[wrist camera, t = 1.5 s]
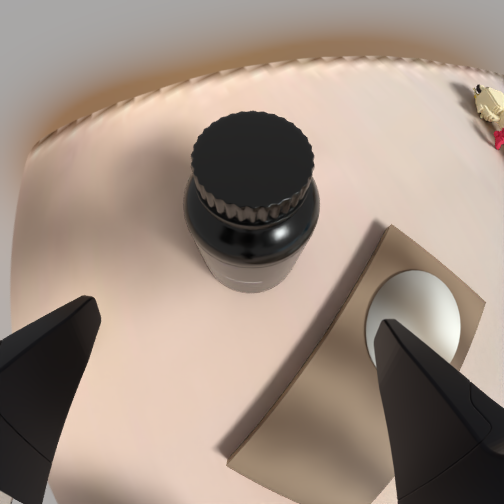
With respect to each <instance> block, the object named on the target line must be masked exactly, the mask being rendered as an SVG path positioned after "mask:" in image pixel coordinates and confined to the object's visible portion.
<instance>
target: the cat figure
mask: <svg viewBox="0 0 504 504" xmlns="http://www.w3.org/2000/svg"><path fill="white" fill-rule="evenodd" d="M473 90H474V91H475V92H474V94H475V95H474V98H475V99H476V102H475V103H476V106H477V109H478V110H477V112H478V113H481V115H480V117H481V118H483V117H484V119H486V121H489V122H495V123H498V124H499V126H500V127H501V129H502V131H500V132H499V131H495V132H494V134H493V135H494V136H495V138H496V139H495V140H496V141H495V142H496V143H495V147H496V149H497V150H500V149H499V148H500V147H501V144H504V94H503V93H502V92H500V91H497V90H494V89H492V88H489V87H486V88H485V87H484V86H482V85H477V89H475V88H473ZM476 90H477V91H478V93H479V94H477V93H476Z"/></svg>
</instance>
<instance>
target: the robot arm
mask: <svg viewBox="0 0 504 504" xmlns="http://www.w3.org/2000/svg"><path fill="white" fill-rule="evenodd" d="M100 324H101V315H100V312H99V309H98V306H97V302H96V300H95V298H94V297H92V296H86V295H83V296H81V297H79V298H77V299H75V300H73V301H71V302H69V303H67V304H65V305H64V306H62V307H60V308H58V309H56V310H54V311H52V312H51V313H49V314H47V315H45V316H43V317H41V318H40V319H38V320H36V321H34V322H32V323H31V324H29V325H27V326H25V327H23V328H22V329H20V330H18V331H16V332H15V333H13V334H11V335H9V336H8V337H6V338H4V339H3V340H0V504H12V501H13V498H14V499H15V500H17V501H19V502H21V503H23V504H42V502H43V498H44V493H45V489H46V485H47V481H48V477H49V473H50V469H51V466H52V462H53V458H54V455H55V451H56V448H57V445H58V442H59V438H60V435H61V432H62V429H63V426H64V423H65V420H66V418H67V415H68V412H69V409H70V406H71V404H72V401H73V398H74V396H75V393H76V390H77V388H78V385H79V383H80V380H81V378H82V375H83V373H84V371H85V368H86V366H87V363H88V360H89V358H90V355H91V351H92V348H93V345H94V342H95V339H96V336H97V333H98V330H99V327H100ZM374 352H375V360H376V368H377V377H378V385H379V390H380V395H381V400H382V405H383V410H384V414H385V420H386V425H387V430H388V436H389V442H390V448H391V454H392V460H393V467H394V474H395V482H396V490H397V499H398V504H504V408H503V407H501V406H500V405H499V404H497V403H496V402H495V401H493V400H492V399H491V398H490V397H488V396H487V395H486V394H485V393H484V392H482V391H481V390H480V389H479V388H478V387H477V386H475V385H474V384H473V383H472V382H470V381H469V380H468V379H467V378H466V377H465V376H464V375H463V374H461V373H460V372H459V371H458V370H457V369H456V368H454V367H453V366H452V365H451V364H450V363H448V362H447V361H446V360H445V359H444V358H442V357H441V356H440V355H439V354H438V353H436V352H435V351H434V350H433V349H432V348H430V347H429V346H428V345H427V344H426V343H424V342H423V341H422V340H421V339H419V338H418V337H417V336H416V335H415V334H413V333H412V332H411V331H410V330H408V329H407V328H406V327H405V326H403V325H402V324H401V323H400V322H398V321H397V320H396V319H383V320H382V321H381V323H380V325H379V328H378V330H377V333H376V335H375V338H374Z"/></svg>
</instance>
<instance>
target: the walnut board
mask: <svg viewBox="0 0 504 504" xmlns="http://www.w3.org/2000/svg"><path fill="white" fill-rule="evenodd" d="M485 304H486V302H485V301H484V300H483V299H482V298H481V297H480V296H479V295H478V294H476V293H475V292H474V291H473V290H472V289H471V288H470V287H469V286H468V285H467V284H465V283H464V282H463V281H462V280H461V279H460V278H459V277H457V276H456V275H455V274H454V273H453V272H452V271H450V270H449V269H448V268H447V267H446V266H445V265H443V264H442V263H441V262H440V261H438V260H437V259H436V258H435V257H434V256H432V255H431V254H430V253H429V252H427V251H426V250H425V249H424V248H422V247H421V246H420V245H419V244H417V243H416V242H415V241H413V240H412V239H411V238H409V237H408V236H407V235H405V234H404V233H403V232H401V231H400V230H399V229H397V228H396V227H395V226H393V225H392V224H391V225H390V226H389V227H388V228H387V229H386V230H385V232H384V234H383V236H382V238H381V240H380V242H379V244H378V245H377V247H376V249H375V251H374V253H373V255H372V257H371V258H370V260H369V262H368V264H367V266H366V267H365V269H364V271H363V273H362V274H361V276H360V278H359V280H358V281H357V283H356V285H355V287H354V288H353V290H352V292H351V293H350V295H349V297H348V298H347V300H346V302H345V303H344V305H343V306H342V308H341V310H340V311H339V313H338V314H337V316H336V318H335V319H334V321H333V322H332V324H331V325H330V327H329V328H328V330H327V332H326V333H325V335H324V336H323V338H322V339H321V341H320V342H319V344H318V345H317V347H316V348H315V349H314V351H313V352H312V354H311V355H310V357H309V358H308V360H307V361H306V362H305V364H304V365H303V367H302V368H301V369H300V371H299V372H298V374H297V375H296V376H295V378H294V379H293V380H292V382H291V383H290V384H289V386H288V387H287V388H286V390H285V391H284V392H283V394H282V395H281V396H280V398H279V399H278V400H277V402H276V403H275V404H274V405H273V407H272V408H271V409H270V410H269V412H268V413H267V414H266V415H265V417H264V418H263V419H262V420H261V422H260V423H259V424H258V425H257V426H256V428H255V429H254V430H253V431H252V432H251V434H250V435H249V436H248V437H247V438H246V439H245V441H244V442H243V443H242V444H241V445H240V446H239V448H238V449H237V450H236V451H235V452H234V453H233V454H232V455H231V456H230V458H229V459H228V460H227V464H226V466H227V467H229V468H231V469H232V470H234V471H236V472H238V473H239V474H241V475H243V476H245V477H246V478H248V479H250V480H252V481H254V482H256V483H257V484H259V485H261V486H263V487H265V488H267V489H269V490H271V491H273V492H275V493H277V494H279V495H282V496H284V497H286V498H288V499H290V500H292V501H295V502H297V503H299V504H371V503H372V502H373V501H374V500H375V498H376V497H377V496H378V495H379V494H380V493H381V492H382V490H383V489H384V488H385V487H386V486H387V485H388V483H389V482H390V481H391V480H392V478H393V477H394V476H395V474H394V467H393V460H392V454H391V448H390V442H389V436H388V430H387V425H386V420H385V414H384V410H383V405H382V400H381V395H380V390H379V385H378V377H377V368H376V360H375V352H374V338H375V335H376V333H377V330H378V328H379V325H380V323H381V321H382V320H383V319H396V320H397V321H398V322H400V323H401V324H402V325H403V326H405V327H406V328H407V329H408V330H410V331H411V332H412V333H413V334H415V335H416V336H417V337H418V338H419V339H421V340H422V341H423V342H424V343H426V344H427V345H428V346H429V347H430V348H432V349H433V350H434V351H435V352H436V353H438V354H439V355H440V356H441V357H442V358H444V359H445V360H446V361H447V362H448V363H450V364H451V365H452V366H453V367H454V368H456V369H457V370H458V371H460V368H461V366H462V364H463V362H464V360H465V357H466V355H467V353H468V350H469V348H470V345H471V343H472V340H473V338H474V335H475V333H476V330H477V327H478V324H479V322H480V319H481V316H482V313H483V310H484V307H485Z"/></svg>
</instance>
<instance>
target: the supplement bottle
mask: <svg viewBox="0 0 504 504" xmlns="http://www.w3.org/2000/svg"><path fill="white" fill-rule="evenodd" d="M193 148H194V151H193V152H192V154H191V159H192V163H191V169H192V172H193V173H192V175H191V176H190V178H189V180H188V183H187V185H186V189H185V192H184V200H183V209H184V216H185V220H186V223H187V226H188V229H189V231H190V233H191V235H192V237H193V239H194V241H195V243H196V245H197V247H198V249H199V251H200V253H201V255H202V257H203V259H204V261H205V262H206V264H207V266H208V268H209V270H210V271H211V273H212V274H213V275H214V277H215V278H216V279H217V280H218V281H219V282H220V283H222V284H223V285H224V286H226V287H228V288H230V289H232V290H235V291H238V292H242V293H259V292H263V291H266V290H269V289H271V288H273V287H275V286H276V285H278V284H279V283H280V282H282V281H283V280H284V279H285V278H286V277H287V275H288V274H289V273H290V271H291V270H292V268H293V266H294V265H295V263H296V261H297V260H298V258H299V256H300V255H301V253H302V251H303V249H304V248H305V246H306V244H307V242H308V241H309V239H310V237H311V235H312V233H313V231H314V229H315V227H316V224H317V221H318V217H319V211H320V198H319V192H318V189H317V185H316V183H315V180H314V178H313V177H312V173H313V170H314V162H313V160H314V154H313V152H312V146H311V145H310V144H309V142H308V138H307V137H306V136H305V135H304V134H303V133H302V131H301V130H300V129H299V128H297V127H296V126H295V125H294V124H293V123H291V122H288V121H287V120H286V119H285V118H282V117H278V116H277V115H275V114H268V113H266V112H256V111H249V112H243V111H241V112H239V113H236V114H230V115H228V116H226V117H221V118H220V119H219V120H218V121H216V122H213V123H212V124H211V125H210V126H209V127H208V128H206V129H204V131H203V133H202V134H201V135H200V136H198V139H197V142H196V143H195V144H194V146H193Z"/></svg>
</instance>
